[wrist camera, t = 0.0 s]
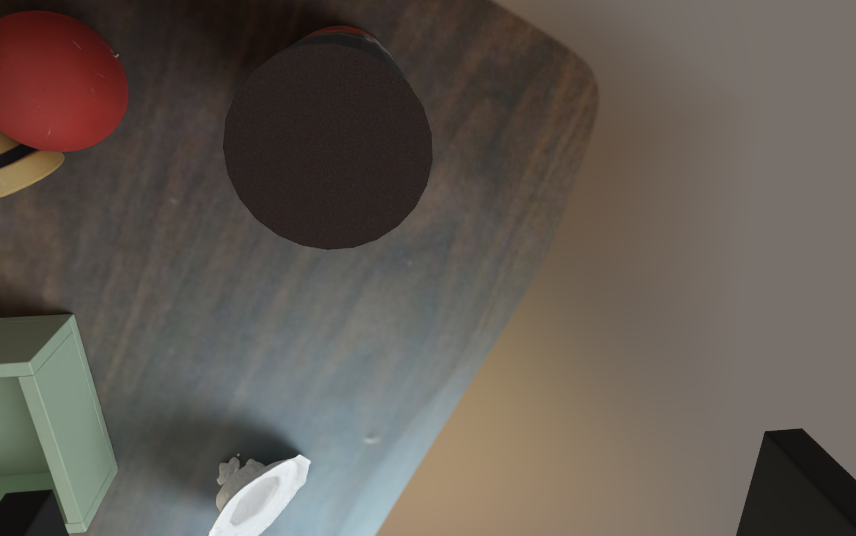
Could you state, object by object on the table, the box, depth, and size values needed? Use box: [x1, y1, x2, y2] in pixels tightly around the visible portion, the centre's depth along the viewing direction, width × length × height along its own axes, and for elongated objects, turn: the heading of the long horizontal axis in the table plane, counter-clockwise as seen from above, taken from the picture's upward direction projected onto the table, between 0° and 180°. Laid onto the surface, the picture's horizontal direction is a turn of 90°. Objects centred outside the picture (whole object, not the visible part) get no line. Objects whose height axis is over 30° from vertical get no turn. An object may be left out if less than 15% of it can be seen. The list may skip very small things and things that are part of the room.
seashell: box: [208, 454, 311, 536], centre depth 38 cm, size 8×5×8 cm
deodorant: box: [223, 25, 432, 250], centre depth 24 cm, size 6×6×15 cm
